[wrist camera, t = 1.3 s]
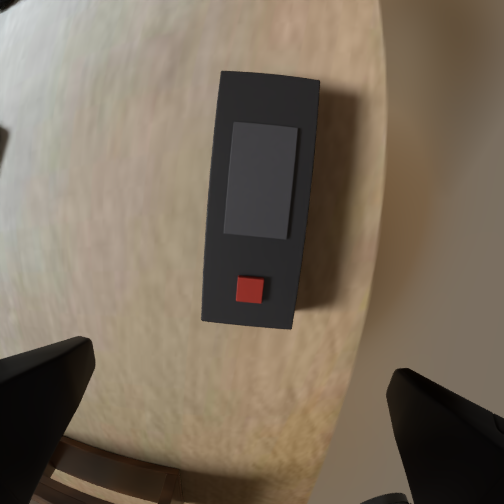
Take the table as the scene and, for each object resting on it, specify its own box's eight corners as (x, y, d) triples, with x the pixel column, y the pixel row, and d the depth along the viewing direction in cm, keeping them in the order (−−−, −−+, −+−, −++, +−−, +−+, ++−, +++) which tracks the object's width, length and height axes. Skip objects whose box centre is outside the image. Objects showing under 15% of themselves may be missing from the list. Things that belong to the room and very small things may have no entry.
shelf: (179, 468, 21) (160, 541, 13) (184, 502, 23) (171, 563, 15) (31, 421, 21) (-6, 470, 13) (51, 461, 23) (24, 506, 15)
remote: (226, 84, 14) (220, 68, 12) (312, 92, 14) (321, 78, 12) (207, 304, 17) (200, 323, 15) (288, 311, 17) (292, 332, 15)
